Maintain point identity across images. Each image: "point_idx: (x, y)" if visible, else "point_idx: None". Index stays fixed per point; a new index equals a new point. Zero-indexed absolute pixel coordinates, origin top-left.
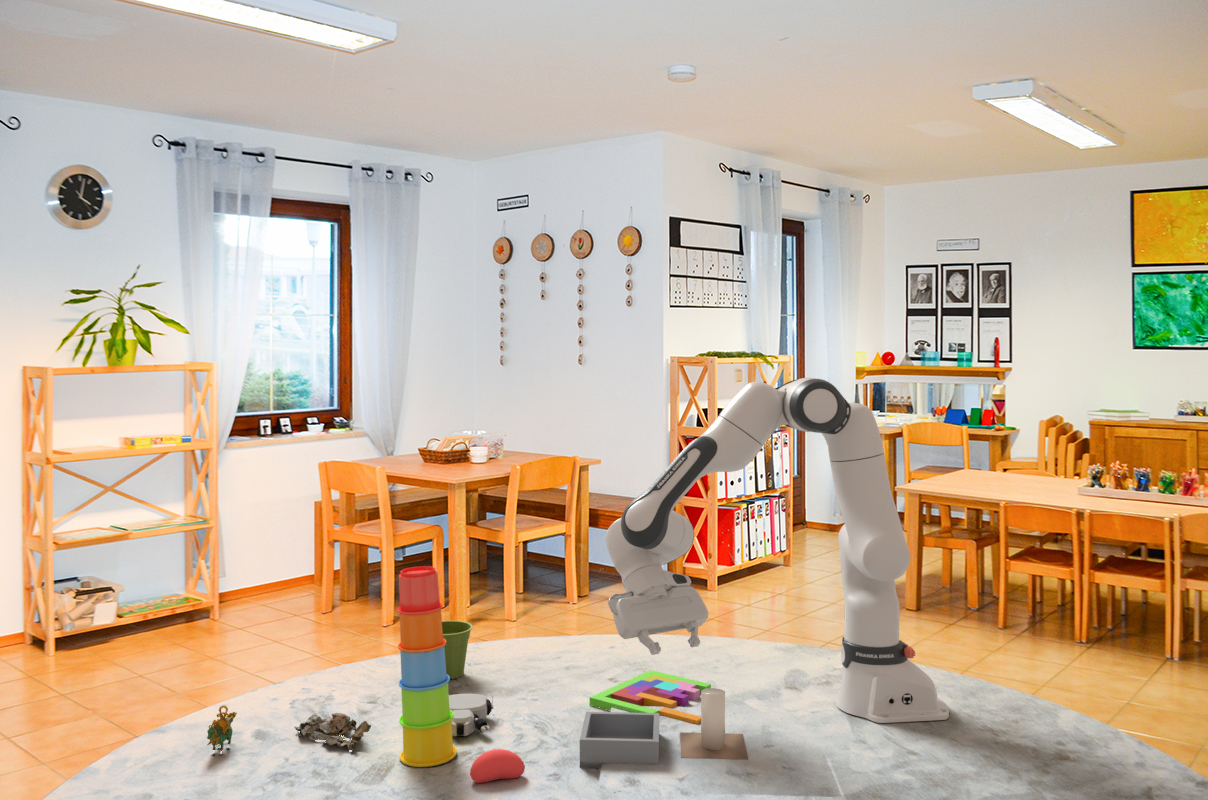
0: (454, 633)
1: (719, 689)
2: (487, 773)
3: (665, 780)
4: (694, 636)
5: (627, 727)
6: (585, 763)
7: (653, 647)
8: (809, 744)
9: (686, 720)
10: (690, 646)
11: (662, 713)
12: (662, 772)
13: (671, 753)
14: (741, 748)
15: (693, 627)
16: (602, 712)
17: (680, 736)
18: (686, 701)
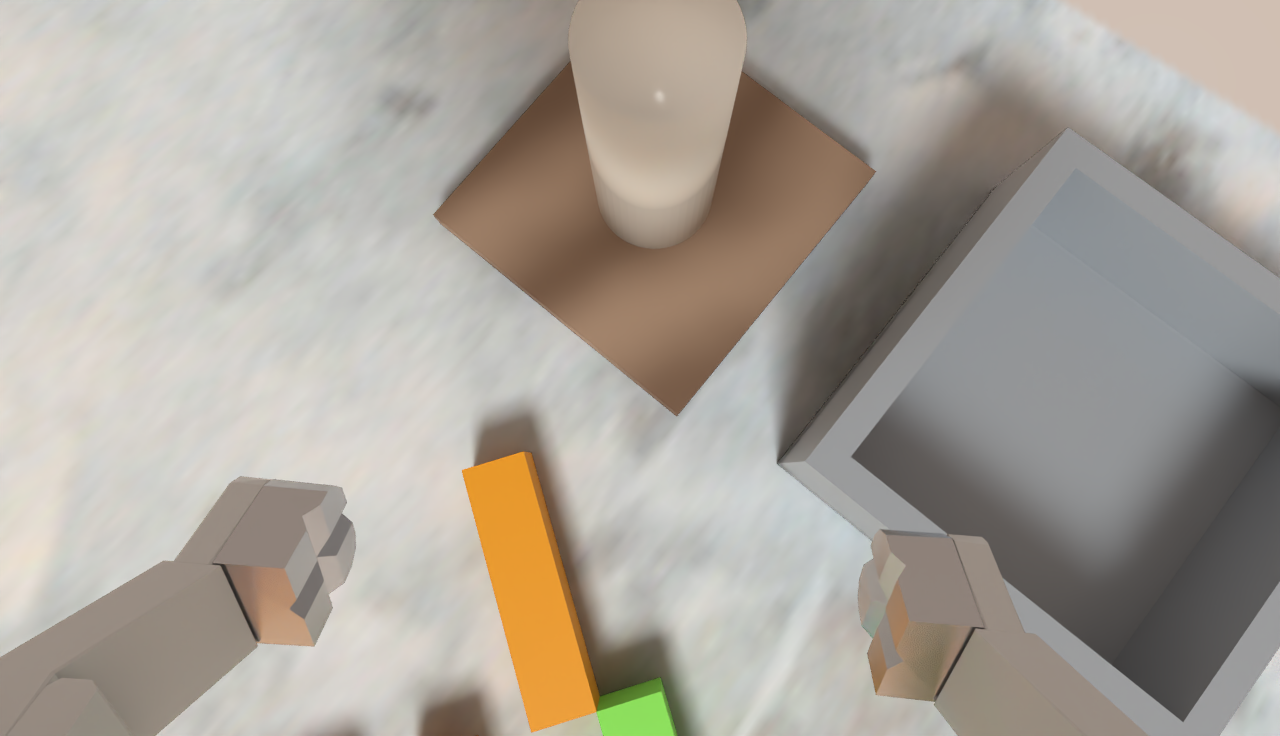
0: None
1: (578, 52)
2: None
3: (1034, 88)
4: (247, 547)
5: None
6: None
7: (997, 576)
8: (248, 11)
9: (543, 517)
10: (349, 570)
11: (589, 679)
12: (997, 155)
13: (835, 291)
14: (570, 92)
15: (83, 692)
16: (1107, 691)
17: (711, 371)
18: None
